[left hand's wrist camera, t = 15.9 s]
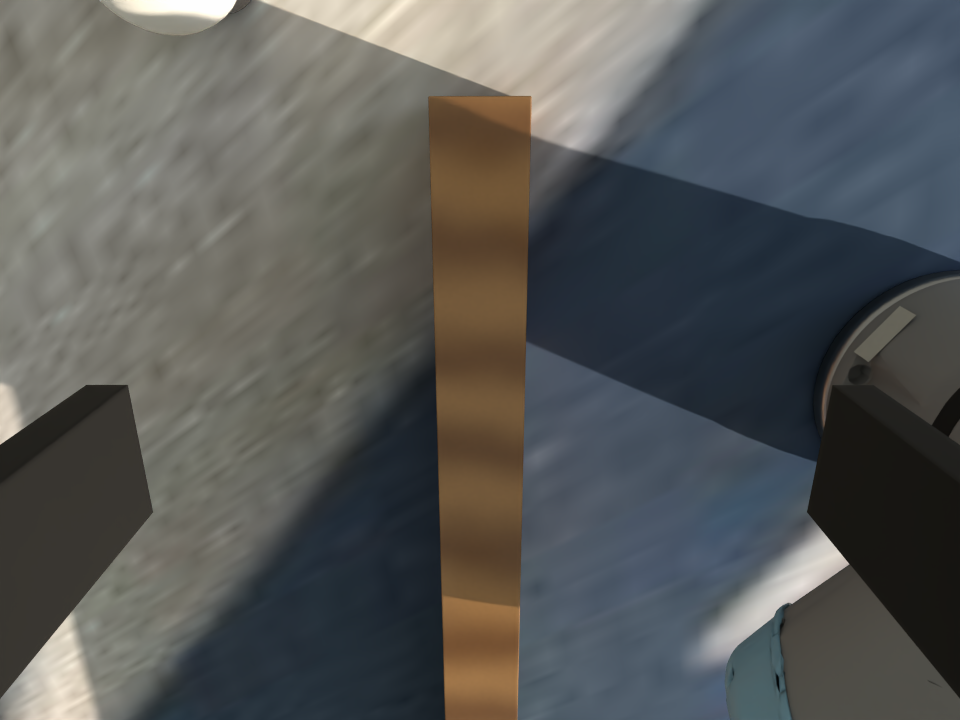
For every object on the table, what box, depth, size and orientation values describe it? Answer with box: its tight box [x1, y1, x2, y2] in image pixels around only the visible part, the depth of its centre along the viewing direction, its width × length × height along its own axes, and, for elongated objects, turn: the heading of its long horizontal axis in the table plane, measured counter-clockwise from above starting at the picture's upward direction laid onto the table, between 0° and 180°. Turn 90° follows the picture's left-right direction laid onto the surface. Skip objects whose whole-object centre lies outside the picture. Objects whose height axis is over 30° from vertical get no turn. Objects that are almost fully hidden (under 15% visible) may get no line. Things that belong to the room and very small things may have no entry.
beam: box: [428, 96, 532, 720], centre depth 46 cm, size 72×5×8 cm, turn 0°
